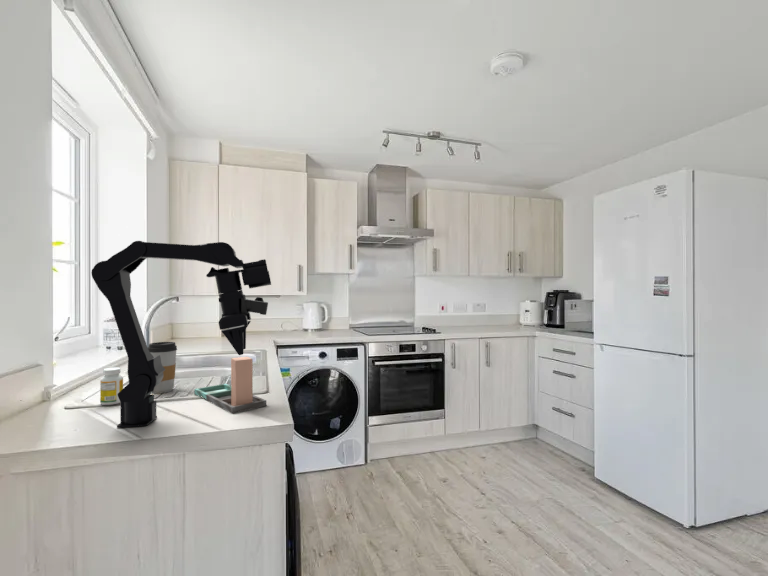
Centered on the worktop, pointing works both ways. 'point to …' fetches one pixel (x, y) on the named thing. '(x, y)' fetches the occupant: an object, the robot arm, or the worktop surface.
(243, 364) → the slim block
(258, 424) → the worktop surface
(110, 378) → the supplement bottle
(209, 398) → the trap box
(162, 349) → the coffee cup
